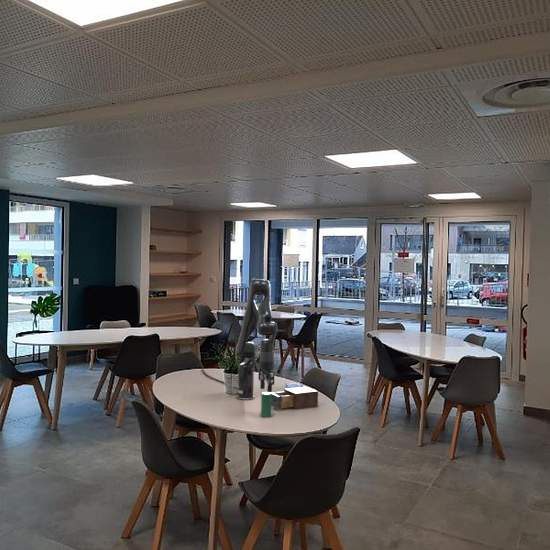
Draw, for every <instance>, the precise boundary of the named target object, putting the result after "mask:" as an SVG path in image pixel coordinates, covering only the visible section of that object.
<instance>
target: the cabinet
mask: <svg viewBox="0 0 550 550" xmlns="http://www.w3.org/2000/svg"><path fill="white" fill-rule="evenodd" d="M285 391H287V392H289V393H291V394H294V407H290V408H291V409H293V410H302V409H309V408H318V406H319V390H316V389H314V388H311V387H308V386H303V387H298V388H288V389H285V388H284V389H283V392H285Z"/></svg>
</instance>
